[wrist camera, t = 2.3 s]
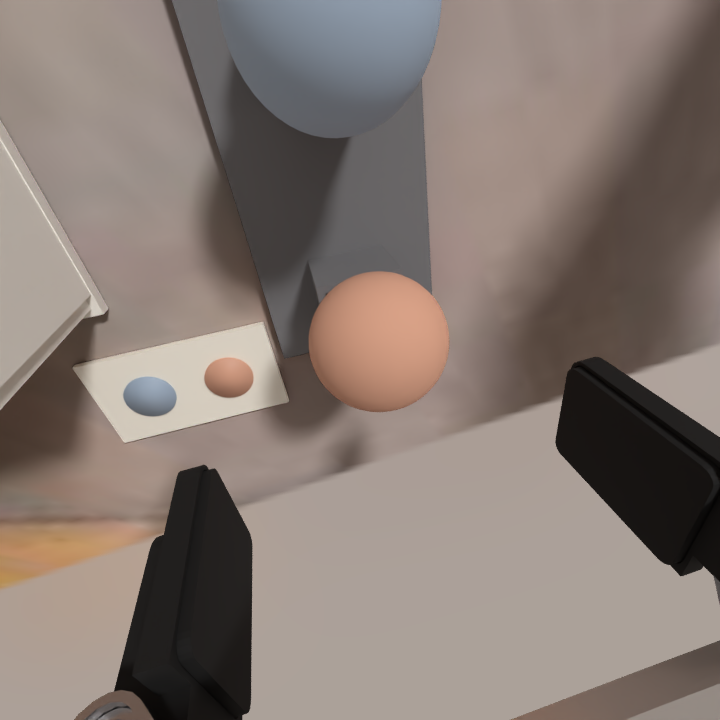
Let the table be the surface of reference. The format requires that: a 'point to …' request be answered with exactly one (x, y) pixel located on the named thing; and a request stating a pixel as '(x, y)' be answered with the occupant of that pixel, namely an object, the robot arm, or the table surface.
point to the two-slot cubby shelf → (35, 276)
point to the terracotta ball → (378, 341)
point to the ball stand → (311, 188)
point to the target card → (186, 382)
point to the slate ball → (331, 58)
